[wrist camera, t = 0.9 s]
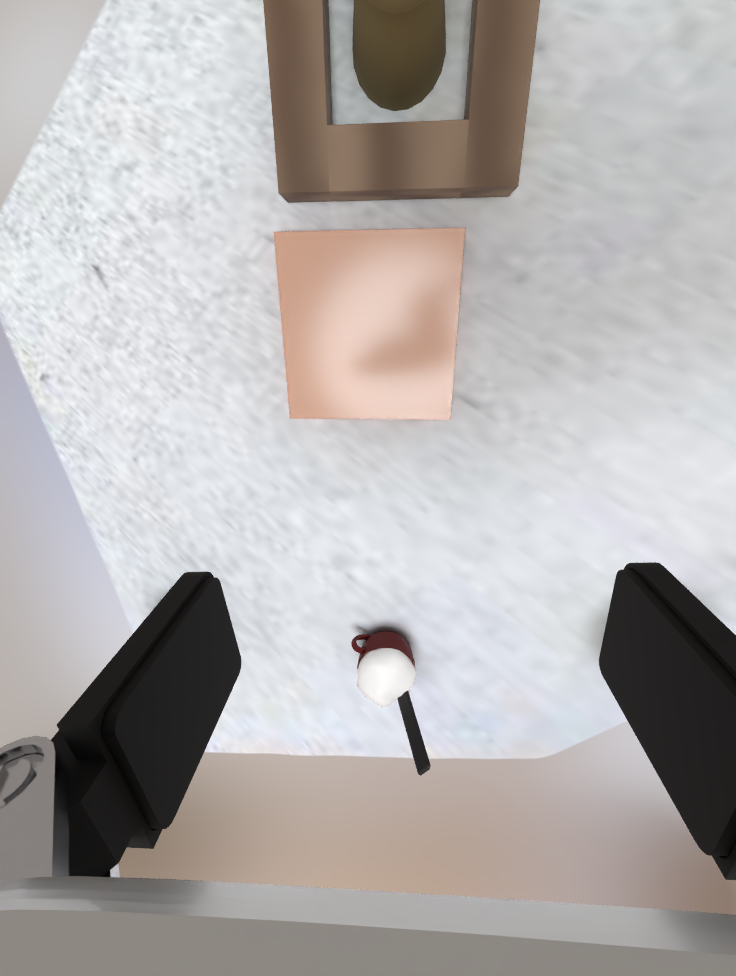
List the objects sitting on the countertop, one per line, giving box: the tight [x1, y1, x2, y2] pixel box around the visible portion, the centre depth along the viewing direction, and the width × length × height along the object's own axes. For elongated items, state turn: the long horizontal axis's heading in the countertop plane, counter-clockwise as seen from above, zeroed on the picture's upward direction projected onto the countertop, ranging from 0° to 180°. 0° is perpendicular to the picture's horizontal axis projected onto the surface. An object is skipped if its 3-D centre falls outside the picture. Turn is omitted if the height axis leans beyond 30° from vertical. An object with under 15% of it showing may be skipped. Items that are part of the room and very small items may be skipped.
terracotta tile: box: [274, 228, 465, 420], centre depth 32 cm, size 14×14×1 cm
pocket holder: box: [263, 0, 540, 203], centre depth 24 cm, size 16×16×2 cm
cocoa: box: [352, 631, 430, 775], centre depth 41 cm, size 10×6×12 cm, turn 31°
